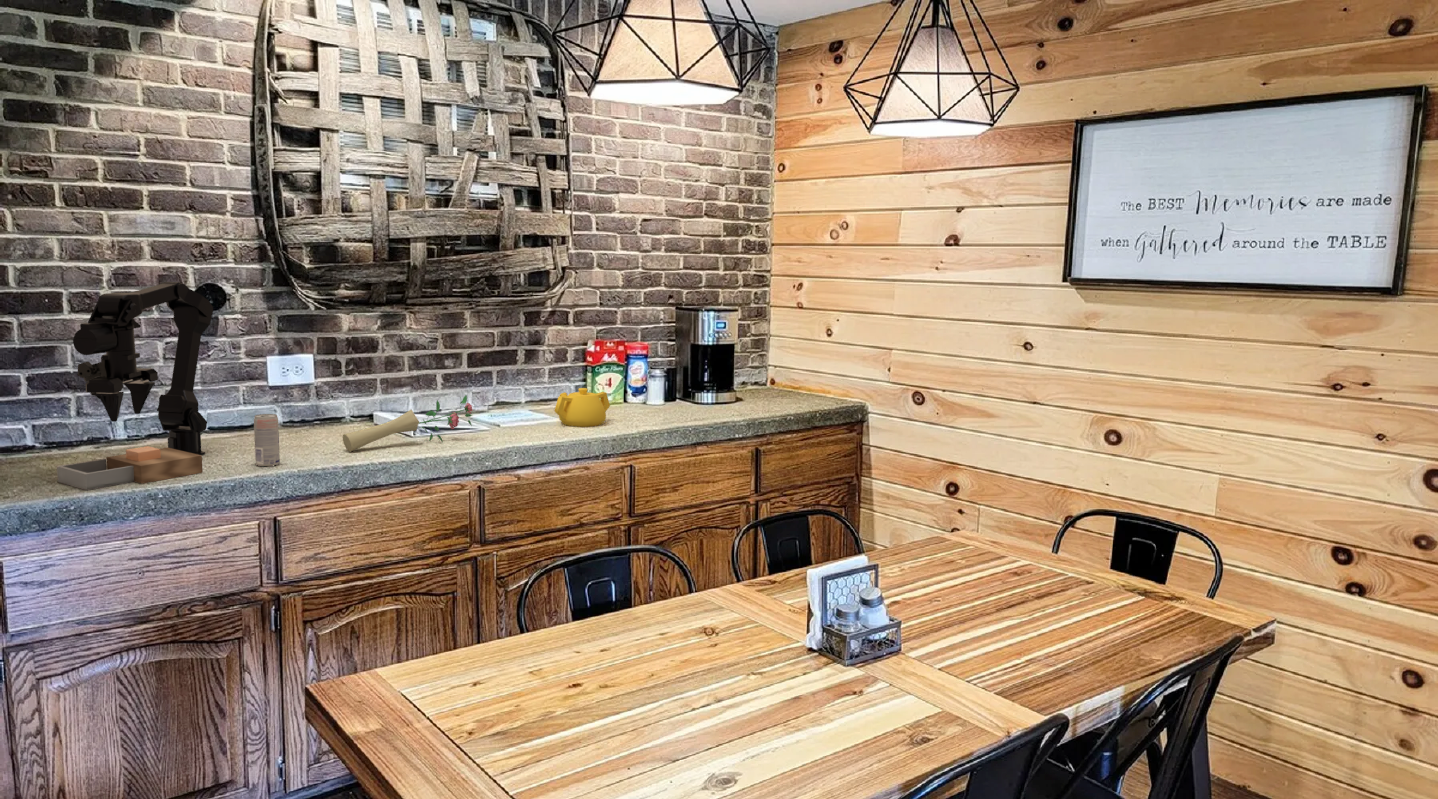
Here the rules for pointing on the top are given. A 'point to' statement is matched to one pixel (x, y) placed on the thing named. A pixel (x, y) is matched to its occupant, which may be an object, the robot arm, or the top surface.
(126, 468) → the box
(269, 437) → the energy drink
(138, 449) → the terracotta tile
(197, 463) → the walnut board
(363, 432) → the flower vase
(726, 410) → the top surface
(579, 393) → the teapot
